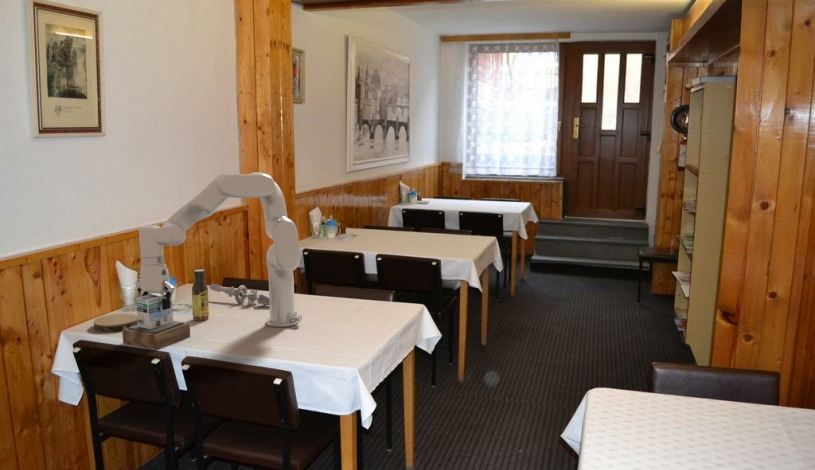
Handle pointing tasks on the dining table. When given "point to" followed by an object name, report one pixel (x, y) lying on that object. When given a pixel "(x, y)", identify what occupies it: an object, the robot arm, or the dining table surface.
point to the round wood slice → (115, 322)
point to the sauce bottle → (200, 297)
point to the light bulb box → (153, 311)
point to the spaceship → (241, 294)
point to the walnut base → (156, 335)
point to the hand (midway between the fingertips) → (156, 307)
